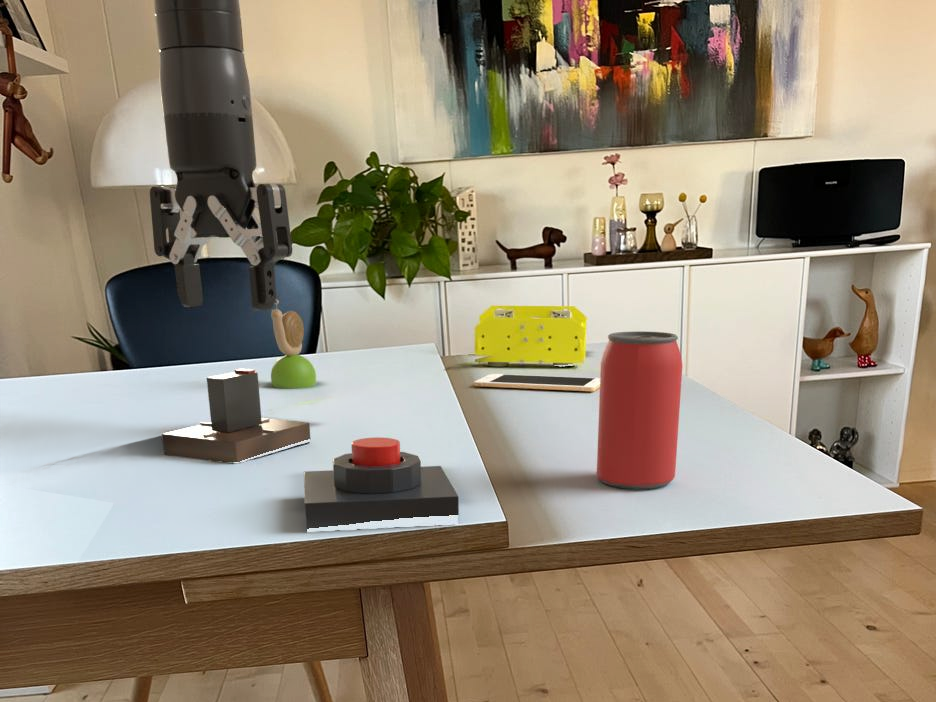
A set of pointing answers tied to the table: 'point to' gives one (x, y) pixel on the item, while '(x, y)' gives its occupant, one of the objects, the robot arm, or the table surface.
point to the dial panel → (234, 440)
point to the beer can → (639, 410)
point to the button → (376, 451)
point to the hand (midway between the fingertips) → (227, 307)
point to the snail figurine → (290, 353)
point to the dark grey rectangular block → (234, 400)
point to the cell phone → (539, 382)
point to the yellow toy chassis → (531, 335)
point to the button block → (376, 492)
